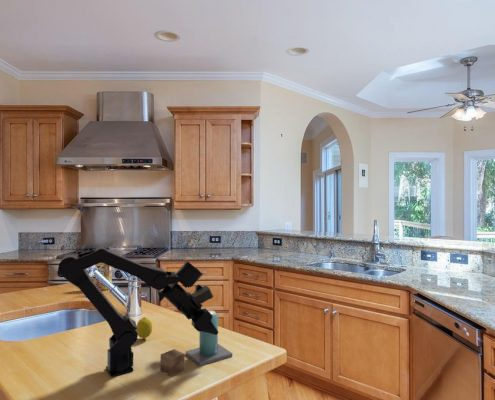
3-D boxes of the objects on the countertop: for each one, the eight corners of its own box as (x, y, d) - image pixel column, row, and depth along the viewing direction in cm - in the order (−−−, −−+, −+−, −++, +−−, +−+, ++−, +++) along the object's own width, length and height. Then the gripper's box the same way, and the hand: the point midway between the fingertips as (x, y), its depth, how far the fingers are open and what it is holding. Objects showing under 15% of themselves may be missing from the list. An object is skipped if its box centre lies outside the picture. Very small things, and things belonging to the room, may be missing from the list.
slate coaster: (199, 365, 110) (199, 362, 110) (185, 354, 118) (185, 351, 118) (232, 356, 117) (232, 353, 117) (217, 345, 125) (217, 343, 125)
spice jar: (200, 356, 114) (200, 316, 114) (198, 349, 120) (198, 310, 120) (218, 355, 115) (219, 314, 115) (216, 347, 121) (216, 309, 121)
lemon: (153, 336, 133) (153, 314, 133) (149, 342, 128) (150, 319, 128) (138, 336, 133) (138, 314, 133) (134, 342, 127) (134, 319, 127)
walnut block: (170, 376, 103) (171, 359, 103) (160, 371, 106) (160, 354, 106) (184, 370, 107) (184, 353, 107) (173, 365, 110) (174, 349, 110)
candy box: (111, 288, 204) (111, 261, 204) (109, 290, 200) (109, 262, 200) (95, 288, 203) (96, 261, 204) (93, 290, 199) (93, 262, 199)
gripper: (206, 285, 107) (239, 318, 111) (190, 273, 124) (220, 302, 129) (179, 315, 104) (215, 347, 108) (167, 298, 121) (199, 326, 126)
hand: (213, 328), depth 118 cm, fingers open, 9 cm apart
